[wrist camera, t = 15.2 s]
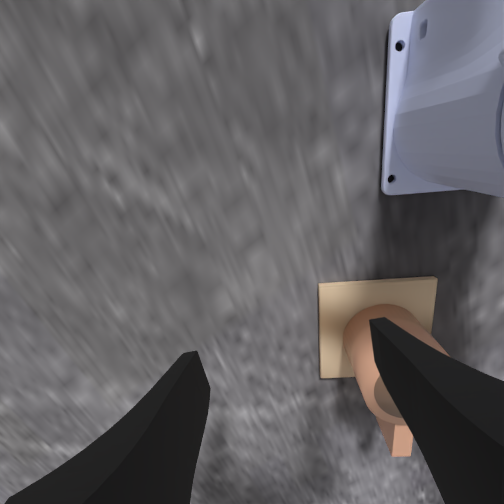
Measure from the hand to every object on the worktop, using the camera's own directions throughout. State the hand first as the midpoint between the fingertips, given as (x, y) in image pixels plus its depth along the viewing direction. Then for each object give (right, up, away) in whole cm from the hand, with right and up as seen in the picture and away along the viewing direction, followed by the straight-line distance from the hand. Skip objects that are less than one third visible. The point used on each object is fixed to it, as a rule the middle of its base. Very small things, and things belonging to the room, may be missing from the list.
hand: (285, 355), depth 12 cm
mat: (+8, -1, +10) cm, 13 cm away
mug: (+8, -4, +10) cm, 14 cm away
